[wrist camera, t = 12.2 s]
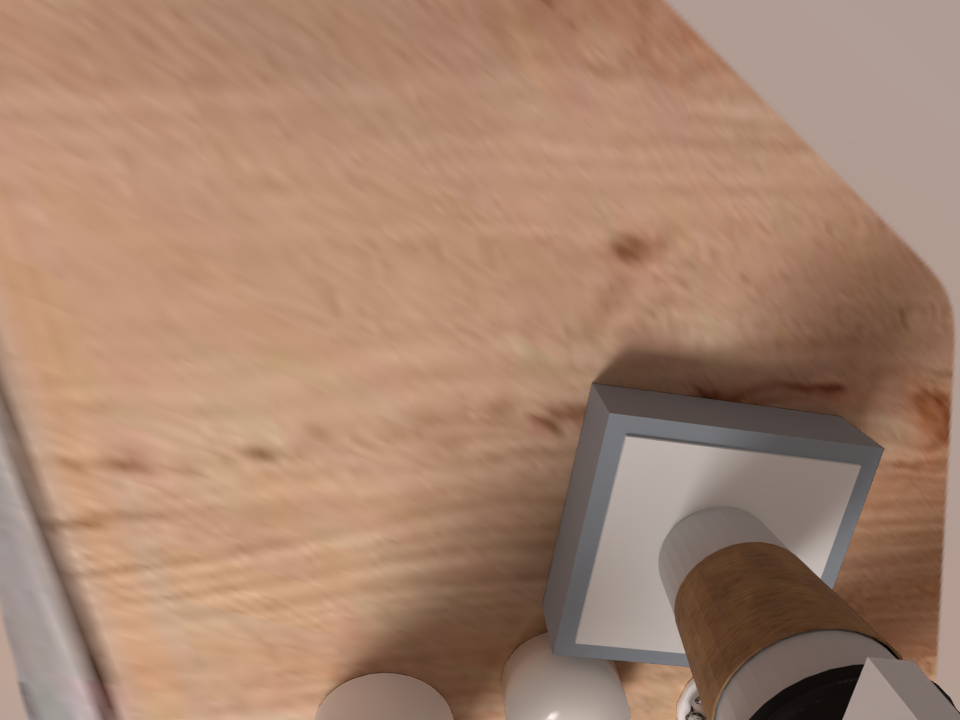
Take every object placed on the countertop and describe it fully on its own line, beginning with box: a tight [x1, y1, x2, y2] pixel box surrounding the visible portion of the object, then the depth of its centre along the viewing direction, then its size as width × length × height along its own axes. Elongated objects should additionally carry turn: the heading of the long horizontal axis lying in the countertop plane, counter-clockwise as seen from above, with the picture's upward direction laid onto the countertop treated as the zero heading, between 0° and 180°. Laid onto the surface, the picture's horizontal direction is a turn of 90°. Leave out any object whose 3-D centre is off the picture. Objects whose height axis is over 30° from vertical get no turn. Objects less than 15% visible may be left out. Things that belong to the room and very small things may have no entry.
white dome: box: [501, 632, 631, 720], centre depth 43 cm, size 7×7×4 cm
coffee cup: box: [658, 507, 960, 720], centre depth 30 cm, size 8×8×15 cm
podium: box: [542, 383, 884, 667], centre depth 39 cm, size 14×14×4 cm
